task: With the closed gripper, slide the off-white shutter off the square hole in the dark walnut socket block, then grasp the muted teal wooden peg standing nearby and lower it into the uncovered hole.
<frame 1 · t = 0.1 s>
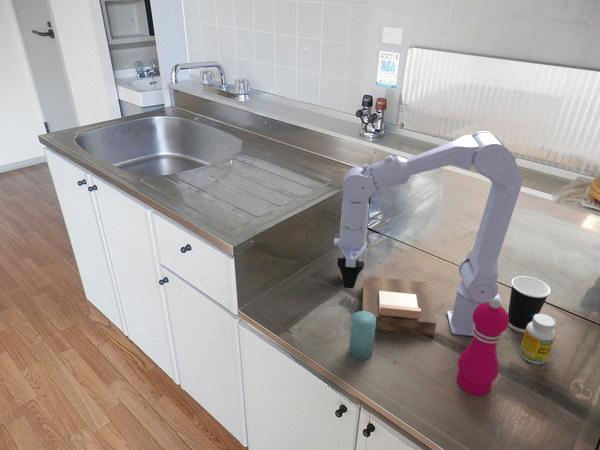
hand: (349, 277, 102), 10 cm above the countertop, tool pointing down, fingers open, 7 cm apart
dixie cup: (518, 326, 104), on the countertop
sprinkles bottle: (347, 278, 120), on the countertop
supplement bottle: (532, 356, 95), on the countertop
socket block: (395, 309, 108), on the countertop
peg: (360, 352, 95), on the countertop
pepper mill: (473, 384, 88), on the countertop
shutter: (398, 302, 103), point 5 cm above the countertop, slide at 0.0 cm
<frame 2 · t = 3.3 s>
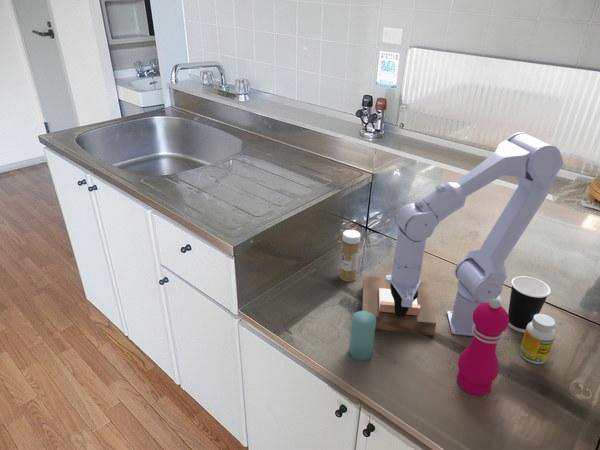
hand: (400, 314, 99), 5 cm above the countertop, tool pointing down, fingers closed
shutter: (398, 299, 104), point 5 cm above the countertop, slide at 1.1 cm, touching gripper
everything else where it was.
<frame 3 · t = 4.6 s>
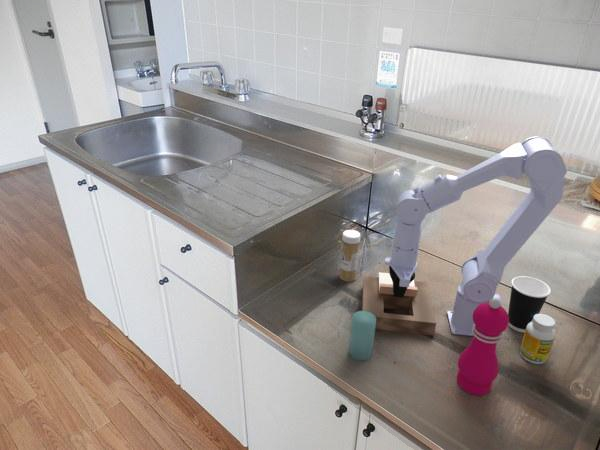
hand: (398, 295, 105), 5 cm above the countertop, tool pointing down, fingers closed
shutter: (397, 282, 110), point 5 cm above the countertop, slide at 8.2 cm, touching gripper
everything else where it was.
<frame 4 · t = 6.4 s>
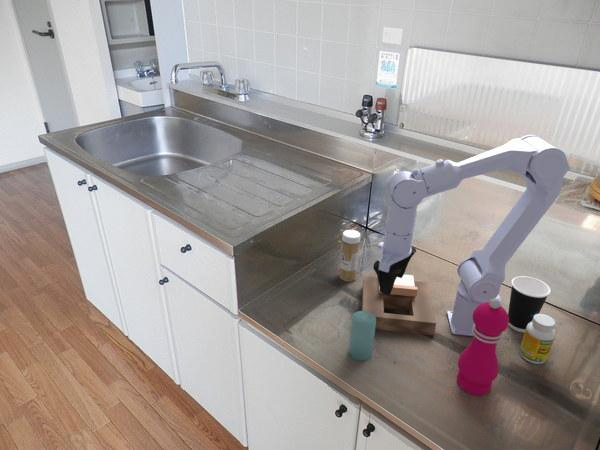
hand: (391, 284, 99), 10 cm above the countertop, tool pointing down, fingers open, 7 cm apart
shutter: (397, 281, 110), point 5 cm above the countertop, slide at 8.3 cm
everything else where it was.
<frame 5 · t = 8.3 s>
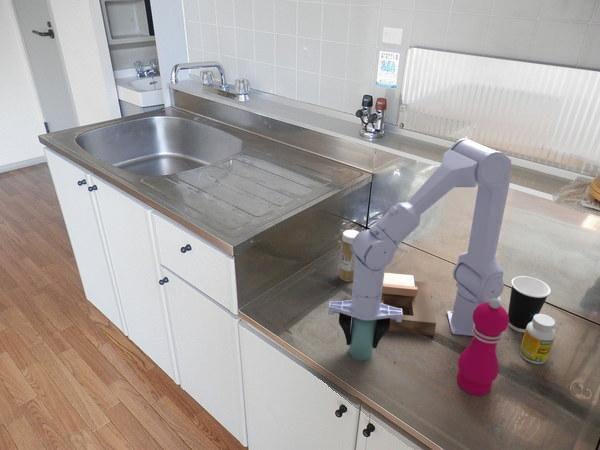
hand: (361, 343, 94), 2 cm above the countertop, tool pointing down, fingers closed on peg, 5 cm apart
peg: (360, 352, 95), on the countertop, touching gripper
everything else where it was.
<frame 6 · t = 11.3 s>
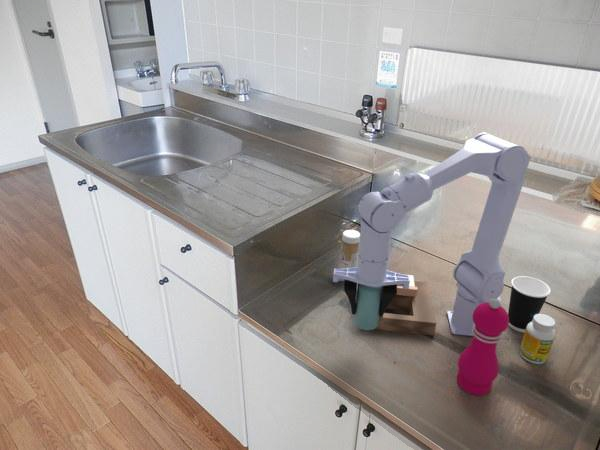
hand: (367, 312, 91), 10 cm above the countertop, tool pointing down, fingers closed on peg, 5 cm apart
peg: (366, 322, 92), point 7 cm above the countertop, touching gripper
everything else where it was.
when the fingers open (4 cm above the countertop, at t = 14.4 s): peg drops 2 cm, resting in socket block.
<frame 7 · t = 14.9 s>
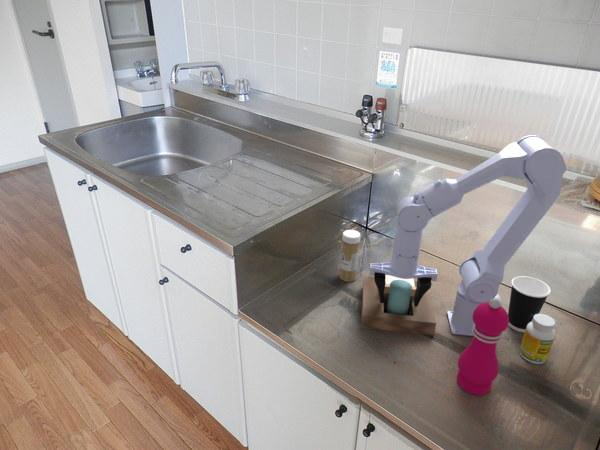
hand: (398, 302, 103), 4 cm above the countertop, tool pointing down, fingers open, 7 cm apart
peg: (396, 317, 106), resting in socket block
everything else where it was.
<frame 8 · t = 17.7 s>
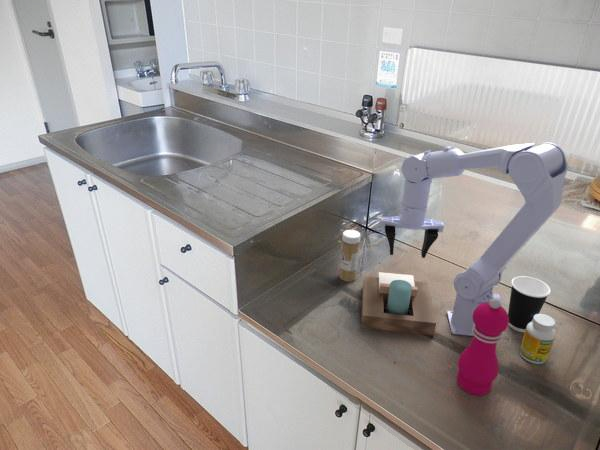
hand: (407, 254, 111), 10 cm above the countertop, tool pointing down, fingers open, 7 cm apart
nothing on the countertop moved.
at the end: shutter slide at 8.3 cm; peg 0.0 cm from the target spot on the socket block, point 0.0 cm above the socket block's base; peg tilted 0° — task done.
